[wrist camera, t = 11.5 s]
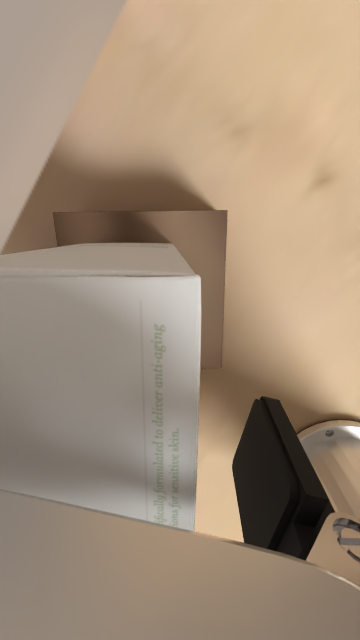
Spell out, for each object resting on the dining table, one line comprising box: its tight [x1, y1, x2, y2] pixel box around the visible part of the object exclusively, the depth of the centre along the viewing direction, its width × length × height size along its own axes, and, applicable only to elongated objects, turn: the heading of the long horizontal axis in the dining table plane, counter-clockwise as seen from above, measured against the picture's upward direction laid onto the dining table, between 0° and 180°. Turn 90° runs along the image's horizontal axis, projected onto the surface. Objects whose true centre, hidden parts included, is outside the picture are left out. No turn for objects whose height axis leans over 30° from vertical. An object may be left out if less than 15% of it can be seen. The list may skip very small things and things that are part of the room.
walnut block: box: [53, 210, 227, 368], centre depth 25 cm, size 12×12×6 cm
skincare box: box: [0, 243, 201, 531], centre depth 14 cm, size 8×7×16 cm
